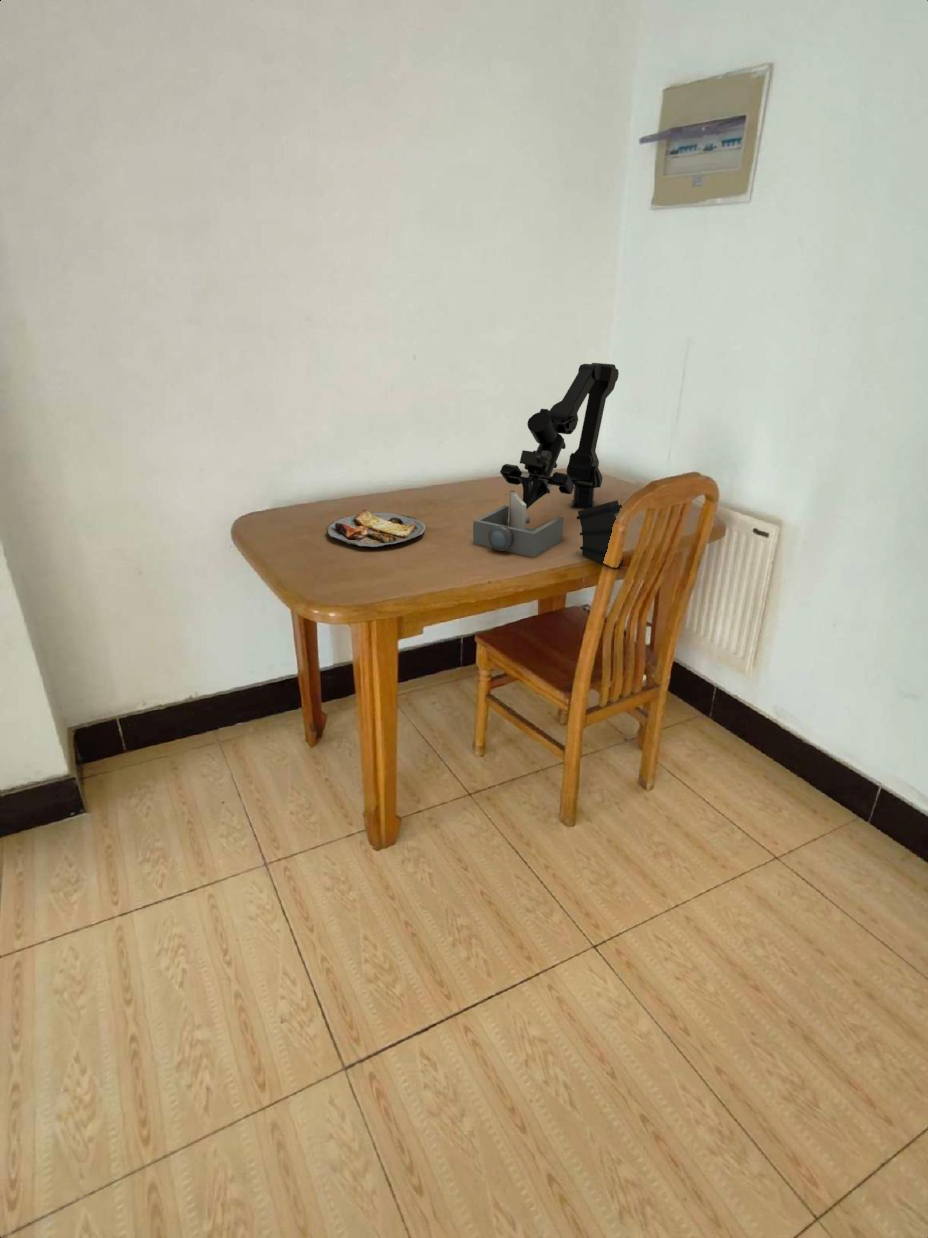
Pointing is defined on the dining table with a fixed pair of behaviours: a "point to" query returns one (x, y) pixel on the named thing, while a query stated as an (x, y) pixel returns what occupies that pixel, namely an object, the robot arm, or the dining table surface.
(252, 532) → the dining table surface
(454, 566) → the dining table surface
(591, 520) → the black ribbed curved block
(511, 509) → the side door
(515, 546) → the grey open box
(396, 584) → the dining table surface
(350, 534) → the food plate
